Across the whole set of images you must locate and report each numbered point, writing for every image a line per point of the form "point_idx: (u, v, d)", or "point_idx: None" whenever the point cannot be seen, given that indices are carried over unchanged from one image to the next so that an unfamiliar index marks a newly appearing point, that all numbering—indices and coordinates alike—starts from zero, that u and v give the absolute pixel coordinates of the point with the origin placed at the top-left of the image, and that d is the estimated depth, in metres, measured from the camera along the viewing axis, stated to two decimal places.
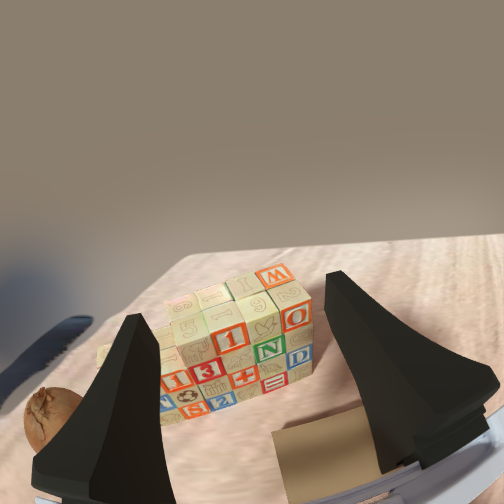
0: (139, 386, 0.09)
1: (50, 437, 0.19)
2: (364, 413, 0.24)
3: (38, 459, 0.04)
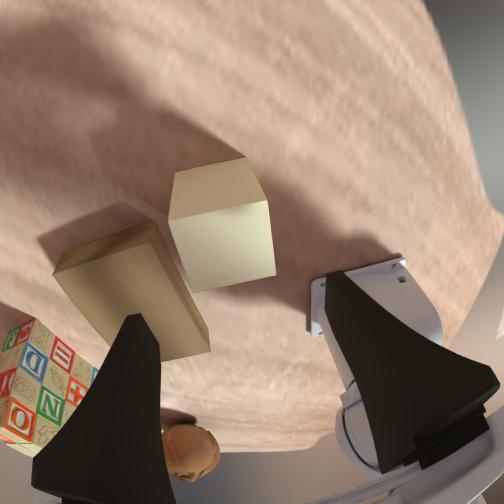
0: (139, 386, 0.09)
1: (205, 466, 0.33)
2: (84, 302, 0.19)
3: (38, 458, 0.04)
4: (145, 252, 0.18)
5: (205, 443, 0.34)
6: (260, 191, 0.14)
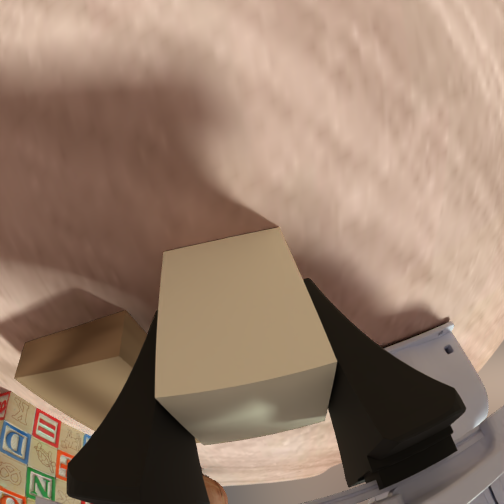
0: None
1: None
2: (60, 404, 0.13)
3: (74, 465, 0.05)
4: (116, 365, 0.11)
5: (212, 496, 0.28)
6: (320, 332, 0.07)
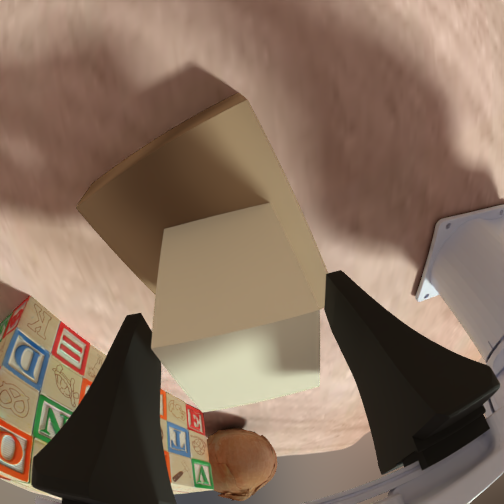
0: (139, 386, 0.09)
1: (262, 480, 0.25)
2: (135, 248, 0.12)
3: (38, 459, 0.04)
4: (240, 121, 0.10)
5: (263, 451, 0.27)
6: (304, 286, 0.08)
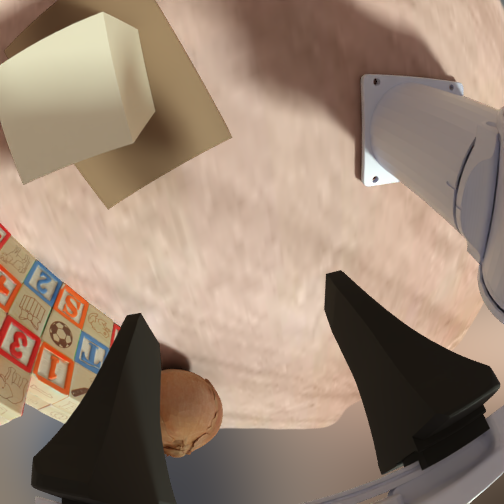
0: (139, 386, 0.09)
1: (200, 431, 0.23)
2: None
3: (38, 459, 0.04)
4: None
5: (200, 392, 0.25)
6: None
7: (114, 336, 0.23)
